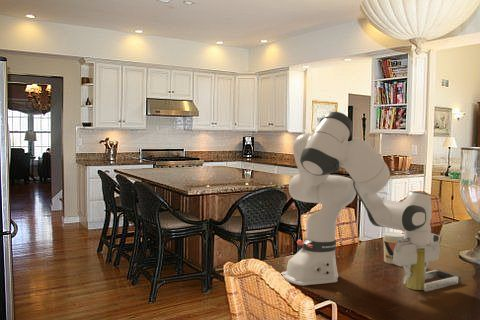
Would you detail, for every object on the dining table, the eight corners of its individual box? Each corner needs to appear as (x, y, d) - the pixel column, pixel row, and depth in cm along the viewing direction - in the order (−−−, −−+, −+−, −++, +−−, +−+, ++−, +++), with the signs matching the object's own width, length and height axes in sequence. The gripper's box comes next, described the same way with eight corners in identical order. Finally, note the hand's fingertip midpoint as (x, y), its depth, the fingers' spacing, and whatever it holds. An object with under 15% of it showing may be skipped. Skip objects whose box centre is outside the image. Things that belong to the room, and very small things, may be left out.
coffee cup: (380, 262, 184) (381, 235, 183) (384, 257, 192) (385, 231, 191) (403, 266, 179) (404, 237, 179) (406, 260, 188) (407, 233, 187)
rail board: (425, 291, 150) (426, 284, 149) (403, 283, 158) (403, 276, 158) (460, 283, 159) (460, 276, 159) (437, 275, 167) (438, 269, 167)
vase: (409, 283, 158) (411, 245, 157) (427, 287, 154) (428, 247, 153) (403, 287, 153) (405, 248, 152) (421, 291, 149) (423, 251, 148)
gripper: (403, 241, 145) (402, 281, 145) (443, 236, 155) (441, 273, 155) (389, 237, 150) (387, 276, 151) (428, 232, 160) (426, 269, 161)
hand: (415, 275), depth 153 cm, fingers open, 6 cm apart
